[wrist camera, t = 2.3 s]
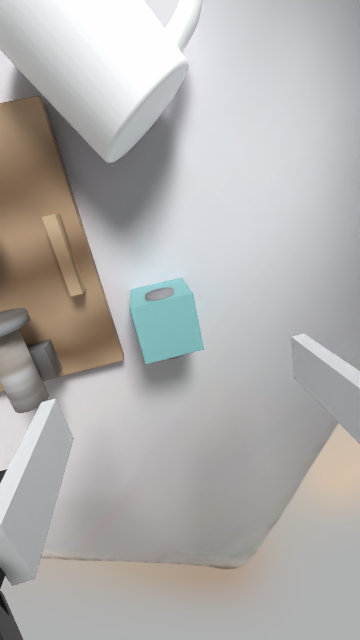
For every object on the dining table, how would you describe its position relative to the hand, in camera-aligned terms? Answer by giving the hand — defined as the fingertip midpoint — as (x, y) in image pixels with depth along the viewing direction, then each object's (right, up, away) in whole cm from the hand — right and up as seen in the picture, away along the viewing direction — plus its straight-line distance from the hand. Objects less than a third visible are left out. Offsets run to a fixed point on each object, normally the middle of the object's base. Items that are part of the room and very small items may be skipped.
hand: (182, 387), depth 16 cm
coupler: (-2, +5, +13) cm, 14 cm away
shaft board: (-16, +8, +9) cm, 20 cm away
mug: (-5, +23, +6) cm, 25 cm away
